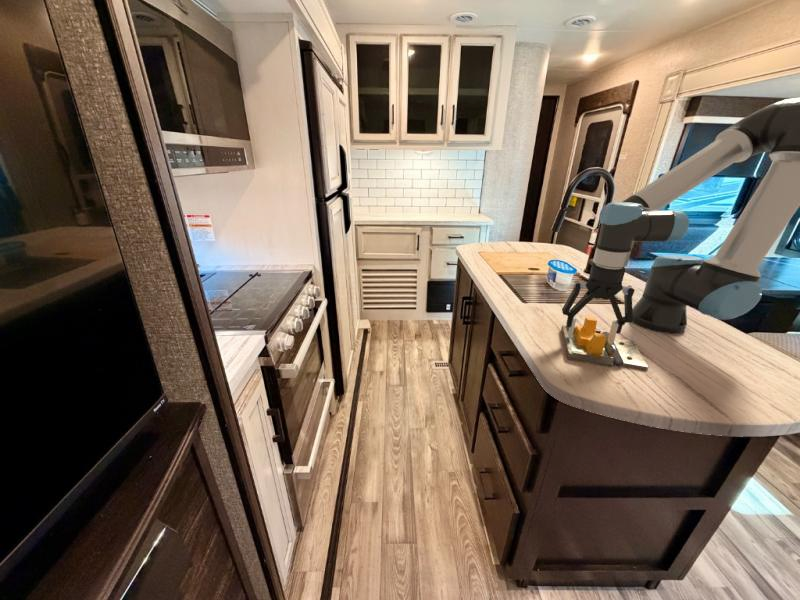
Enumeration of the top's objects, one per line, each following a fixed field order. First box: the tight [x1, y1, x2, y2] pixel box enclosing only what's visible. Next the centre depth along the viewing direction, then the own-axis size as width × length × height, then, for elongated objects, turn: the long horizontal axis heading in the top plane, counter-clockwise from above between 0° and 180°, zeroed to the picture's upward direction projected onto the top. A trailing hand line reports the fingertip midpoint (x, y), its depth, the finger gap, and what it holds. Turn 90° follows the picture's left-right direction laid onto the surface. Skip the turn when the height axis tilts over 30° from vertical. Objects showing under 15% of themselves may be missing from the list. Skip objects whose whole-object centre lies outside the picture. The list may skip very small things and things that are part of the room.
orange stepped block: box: [575, 316, 607, 355], centre depth 92 cm, size 12×4×6 cm, turn 164°
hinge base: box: [560, 324, 649, 371], centre depth 92 cm, size 19×17×2 cm
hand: (589, 339), depth 92 cm, fingers open, 10 cm apart
